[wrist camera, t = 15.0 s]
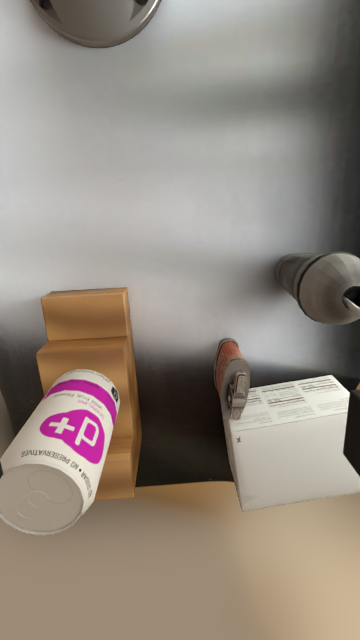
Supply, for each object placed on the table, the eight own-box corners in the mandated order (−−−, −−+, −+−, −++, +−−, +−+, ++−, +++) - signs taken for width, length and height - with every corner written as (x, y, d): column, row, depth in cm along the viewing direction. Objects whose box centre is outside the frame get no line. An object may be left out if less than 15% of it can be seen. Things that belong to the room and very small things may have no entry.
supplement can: (80, 352, 38) (24, 436, 23) (134, 396, 39) (113, 498, 25) (37, 398, 39) (-40, 503, 25) (92, 438, 41) (49, 556, 27)
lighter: (233, 389, 48) (249, 431, 39) (211, 388, 48) (220, 430, 39) (241, 338, 46) (259, 370, 36) (217, 337, 46) (229, 368, 36)
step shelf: (51, 291, 43) (8, 317, 32) (127, 287, 43) (111, 312, 32) (77, 438, 50) (49, 502, 39) (142, 434, 50) (133, 497, 39)
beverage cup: (330, 256, 43) (457, 288, 24) (302, 305, 45) (397, 371, 26) (282, 232, 42) (374, 245, 23) (255, 284, 44) (319, 335, 25)
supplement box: (229, 463, 52) (240, 514, 43) (218, 391, 48) (228, 431, 40) (334, 447, 52) (368, 495, 43) (332, 373, 48) (369, 409, 39)
